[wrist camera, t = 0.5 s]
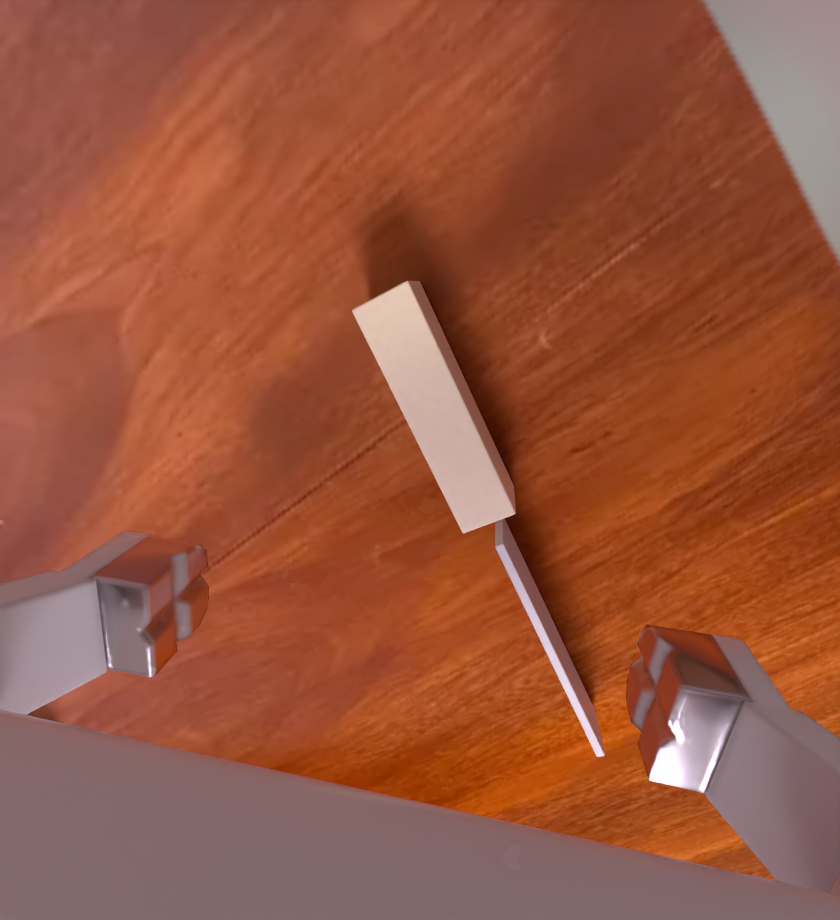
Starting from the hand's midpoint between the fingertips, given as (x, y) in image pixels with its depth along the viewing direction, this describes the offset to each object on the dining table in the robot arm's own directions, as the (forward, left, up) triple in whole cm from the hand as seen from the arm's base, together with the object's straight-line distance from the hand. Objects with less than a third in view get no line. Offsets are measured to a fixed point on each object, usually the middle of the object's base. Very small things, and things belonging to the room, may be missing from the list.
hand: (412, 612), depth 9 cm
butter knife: (+4, +3, -14) cm, 15 cm away
